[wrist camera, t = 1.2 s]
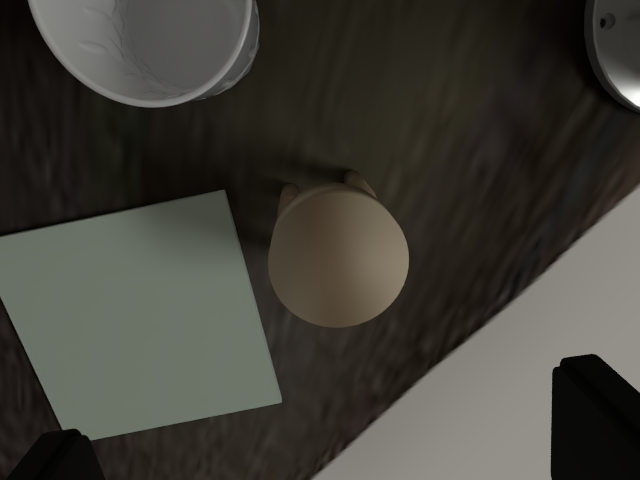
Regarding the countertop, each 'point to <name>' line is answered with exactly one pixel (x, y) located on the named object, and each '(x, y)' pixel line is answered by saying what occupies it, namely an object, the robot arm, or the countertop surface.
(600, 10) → the robot arm
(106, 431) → the sage mat
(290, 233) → the round tan stool
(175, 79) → the white cup
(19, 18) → the countertop surface
